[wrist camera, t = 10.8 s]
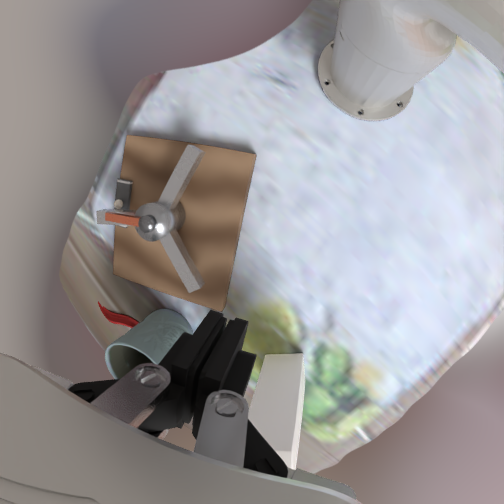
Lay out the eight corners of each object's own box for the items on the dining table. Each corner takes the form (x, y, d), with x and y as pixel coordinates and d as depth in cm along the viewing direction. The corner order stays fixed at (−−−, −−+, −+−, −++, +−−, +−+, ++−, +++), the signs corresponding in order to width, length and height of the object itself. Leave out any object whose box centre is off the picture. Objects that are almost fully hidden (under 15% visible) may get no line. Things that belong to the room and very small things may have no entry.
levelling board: (132, 135, 38) (126, 134, 37) (256, 154, 36) (254, 154, 34) (118, 271, 45) (113, 274, 44) (224, 306, 43) (221, 311, 41)
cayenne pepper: (95, 306, 49) (89, 310, 48) (101, 289, 48) (95, 293, 46) (143, 345, 49) (138, 350, 47) (151, 330, 48) (146, 335, 46)
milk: (265, 353, 44) (227, 469, 23) (304, 352, 42) (288, 473, 22) (269, 382, 45) (238, 493, 24) (306, 381, 44) (291, 497, 23)
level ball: (118, 198, 39) (112, 199, 38) (125, 199, 39) (119, 201, 38) (117, 207, 39) (111, 208, 38) (124, 209, 39) (118, 210, 38)
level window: (120, 178, 39) (117, 178, 38) (132, 180, 38) (130, 181, 38) (115, 223, 41) (113, 224, 40) (127, 227, 41) (125, 228, 40)
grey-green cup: (209, 335, 45) (179, 382, 34) (177, 365, 48) (147, 409, 37) (160, 292, 44) (118, 328, 33) (134, 327, 48) (96, 364, 37)
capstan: (109, 209, 40) (80, 217, 34) (206, 142, 35) (184, 138, 29) (157, 300, 43) (136, 320, 36) (263, 253, 37) (253, 270, 31)
